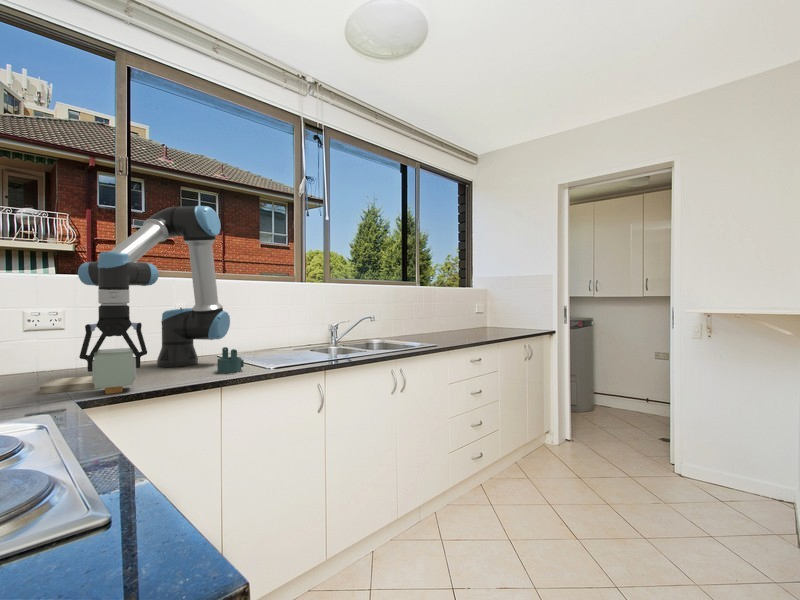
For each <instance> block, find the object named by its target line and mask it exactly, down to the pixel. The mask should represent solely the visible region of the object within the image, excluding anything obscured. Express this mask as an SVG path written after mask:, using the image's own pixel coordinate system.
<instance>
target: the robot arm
mask: <svg viewBox="0 0 800 600" xmlns="http://www.w3.org/2000/svg"><path fill="white" fill-rule="evenodd" d="M221 225H222V224H221V221H220V217H219V215H218V214H217V212H216V211H215V210H214V209H213V208H212V207H210V206H207V205H192V206H191V205H190V206H189V205H188V206H187V205H186V206H171V207H167V208H165V209H164V208H163V209H162V210H159V211H157V212H156V213H154V214H153V215H151V216H150V217H148V218H147V219H145V220H144V221H143V223H142V226H141V227H140V228H139V229H137V230H136V231H135V232H133V233H132V234H131V235H129V236H128V237H126V239H124V240H123V241H121V242H120V243H119V244H117V245H116V246H115V247H113V248H112V249H111V250H110V251H102V252H100V253H99V254H98V258H97V259H98V260H96V261H89V262H88V261H87V262H83V263H82V264H80V266H79V267H78V270H77V276H78V278H79V280H80V282H81V283H82V284H84V285H87V286H95V287H98V288H97V289H98V291H97V293H98V294H97V295H98V302H97V303H98V304H100V305H99V306H98V320H97V322H96V323H87V324H86V325H85V326H84V329H85V335H84V339H83V342H82V346H81V349H80V353H79V356H78V357H79V359H81V360H85V361H87V372H88V373H91V372H92V374H91V376H92V383H93V384H94V353H95V352H97V351H98V350H100V347H101V346H102V344H103V343H104V342H105V339H106V338H107V337H122V338H123V339H124V341H125V342H126V344H127V345H128V348H131V350H133V380H134V381H136V380H137V369H140V367H141V358H142V357H143V356H146V355H147V354H148V350H147V347H146V346H147V345H146V343H145V340H144V336H143V332H142V325H143V323H142V322H132V321H131V320H130V306H129V304H130V286H141V287H146V286H152V285H154V284H155V283H156V282H157V281H158V279H159V275H160V274H159V269H158V268H157V266H156V265H154V264H153V263H150V262H147V261H143V262H142V261H139V260H140V259H141V258H142V257H143V256H144V255H146V254H147V253H148V252H149V251H150V250H152V248H154V247H155V246H156V245H157V244H159V243H161V242H165V241H167V239H170V238H173V237H174V238H176V237H183V238H182V239H183V242H184V243H185V244H186V245H187V246H188V252H189V253H188V255H189V262H190V270H191V271H190V273H191V280H192V288H193V296H194V306H193V307H189V308H188V307H187V308H175V309H169V310H165V311H163V312H162V315H161V349H160V352H159V354H158V357H157V360H156V366H157V367H160V368H176V367H177V368H180V367H188V366H194V365H197V364H199V357H198V354H197V352H196V348H195V345H194V340H203V341H204V340H205V341H207V340H209V341H213V340H221V339H223V338H225V336H226V335H227V334H228V332H229V330H230V325H231V318H230V317H231V316H230V315H229V312H227V311H225V310H224V308H223V307H224V306H223V305H222V304H221V303H220V302H219V299H218V298H219V297H218V290H217V289H218V288H217V279H216V268H215V260H214V259H215V258H214V251H213V249H214V248H213V244H214V243H215V242H216V239H217V238H216V237H217V236H218V235H220V233H221V229H222V228H221ZM131 327H132V328H133V330H135V331H136V332H135V333H136V335H137V339H138V342H139V345H140V346H139V347H140V350H141V351H139V350H138V348H137V346H136V344H135V343H134V342H133V340H132V338H131V337H130V335H129V333H128V330H129V329H130V328H131ZM96 328H97V329H98V330H99V331H100V332H101V335H100V336H99V338H98V340H97V341H96V343H95V344H94V346H93V348H92V350H91V351H90V353H89V354H87V352H88V350H89V349H88V348H89V345H90V342H91V340H92V339H91V338H92V335H93V332H94V331H95V330H96Z"/></svg>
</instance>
